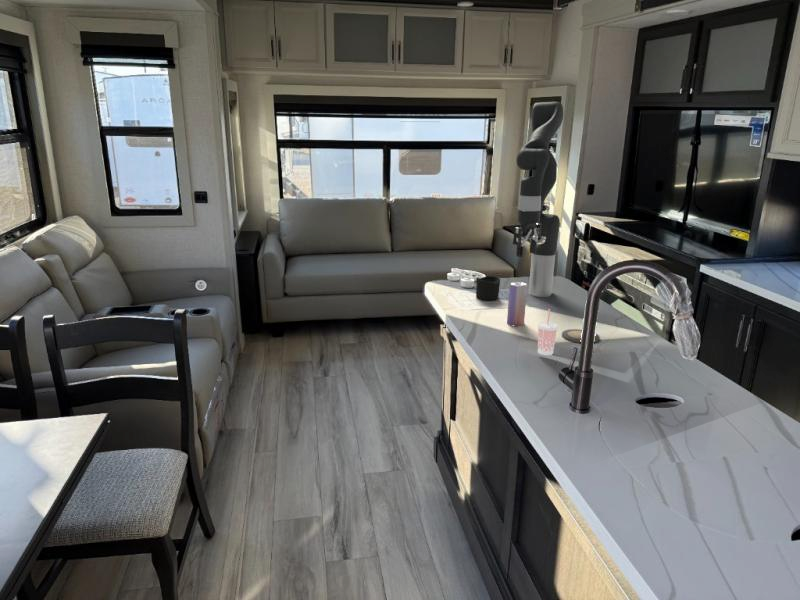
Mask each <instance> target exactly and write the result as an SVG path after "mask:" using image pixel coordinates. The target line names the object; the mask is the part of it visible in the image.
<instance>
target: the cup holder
mask: <svg viewBox="0 0 800 600" xmlns="http://www.w3.org/2000/svg"><path fill="white" fill-rule="evenodd" d="M450 270H451V272H448V273H447V274H446V275H447V278H446V279H447V280H448V281H454V282H455V281H456V282H457V281H459V283H460V287H462V288H466V289H467V288H468V289H469V288H473V287H474V286H475V282H476V278H483V277H486V276H487V275H486V274H484V273H481V272H479V271H474V270H469V269H460V268H457V267H456V268H454V267H452V268H451V269H450Z"/></svg>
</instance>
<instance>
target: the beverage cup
mask: <svg viewBox="0 0 800 600" xmlns="http://www.w3.org/2000/svg"><path fill="white" fill-rule="evenodd" d="M547 312H548V313H547V321H541V322H537V328H538V329H537V333H538V334H537V353H538V354H539V355H542V356H552V355H553V354H554V349H555V343H556V338H557V331H558V329H559V325H558V324H557V323H555V322H551V321H550V314H551V308H548V311H547Z"/></svg>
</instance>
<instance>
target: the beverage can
mask: <svg viewBox="0 0 800 600" xmlns="http://www.w3.org/2000/svg"><path fill="white" fill-rule="evenodd" d="M509 284H510V285H509V288H508V289H509V290H508V301H507V302H508V303H507V305H508V306H507V317H506V318H507V319H506V322H507V324H508V325H509V324H510V326H511V325H514V326H513V327H521V326H524V324H525V316H526V303H527V293H528V286H527V282H526V283H525V282H521V281H512V282H510V283H509Z"/></svg>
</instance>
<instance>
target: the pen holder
mask: <svg viewBox="0 0 800 600" xmlns="http://www.w3.org/2000/svg"><path fill="white" fill-rule="evenodd" d="M485 276H486V277H483V278H476V281H475V282H476V287H475V288H476V290H475V298H476V299H477V300H479V301H483V302H496V301H497V300H499V295H500V285H501V278H500V277H498V276H493V275H485Z"/></svg>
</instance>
